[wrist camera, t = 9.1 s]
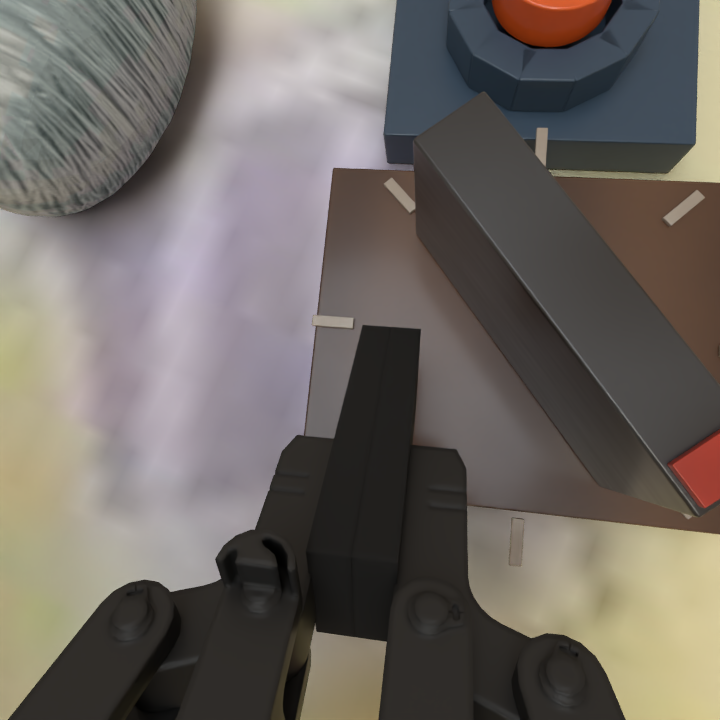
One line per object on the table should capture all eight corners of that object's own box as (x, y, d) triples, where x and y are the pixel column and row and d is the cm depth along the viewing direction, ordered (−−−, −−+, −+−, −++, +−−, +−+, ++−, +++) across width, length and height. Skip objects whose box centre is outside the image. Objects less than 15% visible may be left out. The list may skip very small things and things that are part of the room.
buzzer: (387, 163, 22) (379, 106, 18) (406, -33, 23) (402, -127, 19) (668, 173, 21) (724, 114, 17) (675, -35, 22) (729, -137, 18)
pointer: (414, 233, 18) (411, 132, 12) (464, 199, 18) (485, 81, 12) (599, 487, 16) (705, 522, 10) (654, 451, 16) (793, 464, 10)
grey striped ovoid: (17, -152, 22) (-134, -403, 13) (237, -27, 25) (242, -158, 16) (-66, 165, 25) (-243, 144, 15) (144, 246, 28) (103, 269, 18)
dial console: (311, 518, 21) (288, 537, 17) (348, 171, 23) (334, 121, 19) (703, 566, 19) (768, 598, 15) (712, 185, 21) (772, 133, 17)
